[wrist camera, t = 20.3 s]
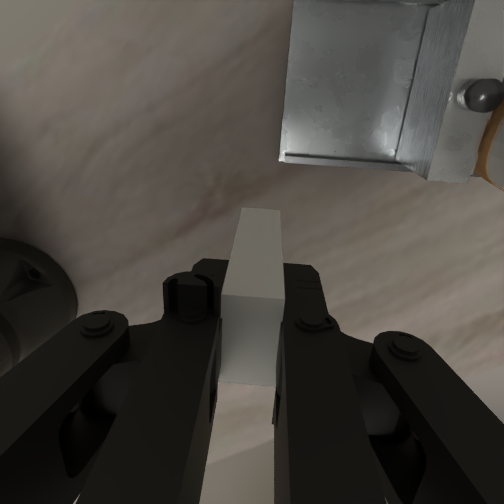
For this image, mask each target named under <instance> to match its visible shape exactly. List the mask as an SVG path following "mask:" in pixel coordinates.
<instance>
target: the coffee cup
mask: <svg viewBox="0 0 504 504" xmlns="http://www.w3.org/2000/svg"><path fill="white" fill-rule="evenodd" d="M474 173H475V174H477V175H479V176H480V177H482V178H483V179H485V180H486V181H488V182H489V183H491V184H493V185H494V186H496V187H497V188H499V189H501V190H502V191H504V99H503V101H502V102H501V104H500V105H499V106H498V107H497V108H496V109H494V110H493V112H492V115H491V118H490V120H489V121H488V122H487V124H486V127H485V129H484V133H483V136H482V139H481V142H480V145H479V148H478V159H477V162H476V165H475V169H474Z"/></svg>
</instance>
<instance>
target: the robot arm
mask: <svg viewBox="0 0 504 504" xmlns="http://www.w3.org/2000/svg"><path fill="white" fill-rule="evenodd" d="M163 299H164V314H163V316H162V319H161V320H159V321H156V322H152V323H147V324H140V325H133V326H129V325H128V319H127V318H126V317H125V316H124V315H123V314H121V313H118V312H116V311H108V310H103V311H94V312H90V313H87V314H84V315H81V316H80V317H78V318H76V319H75V317H76V312H77V300H76V295H75V292H74V289H73V287H72V285H71V283H70V281H69V279H68V277H67V276H66V274H65V273H64V272H63V271H62V269H61V268H60V267H59V266H58V265H57V264H56V263H55V262H54V261H53V260H52V259H50V258H49V257H48V256H47V255H45V254H44V253H42V252H41V251H39V250H37V249H35V248H33V247H31V246H29V245H27V244H24V243H22V242H18V241H14V240H10V239H0V504H73V503H74V501H75V500H76V498H77V497H78V496H79V494H80V496H79V498H78V500H77V502H76V504H199V501H200V496H201V490H202V484H203V477H204V472H205V467H206V461H207V455H208V449H209V443H210V437H211V432H212V426H213V420H214V414H215V408H216V402H217V386H218V378H219V382H224V383H237V384H249V385H261V386H274V387H275V385H276V391H275V400H274V409H273V418H272V424H274V504H386V501H385V498H386V500H387V502H388V503H389V504H504V424H503V423H502V422H501V421H500V420H499V419H498V418H497V416H496V415H495V414H494V413H493V412H492V411H491V410H490V409H489V408H488V407H487V406H486V405H485V404H484V403H483V402H482V400H480V399H479V397H478V396H477V395H476V394H475V393H474V392H473V391H472V390H471V389H470V388H469V387H468V386H467V385H466V384H465V382H464V381H463V380H462V379H461V378H460V377H459V376H458V375H457V374H456V373H455V372H454V371H453V370H452V369H451V368H450V366H449V365H448V364H447V363H446V362H445V361H444V360H443V359H442V358H441V357H440V356H439V355H438V354H437V353H436V352H435V350H434V349H433V348H432V347H431V346H429V345H428V344H427V343H426V342H424V341H423V340H421V339H419V338H417V337H415V336H413V335H411V334H408V333H404V332H400V331H387V332H382V333H380V334H378V335H377V336H376V337H375V339H374V343H369V342H366V341H362V340H359V339H356V338H353V337H350V336H348V335H346V334H344V333H342V332H341V331H340V328H339V325H338V323H337V321H336V320H335V319H334V318H333V317H332V316H330V315H329V314H328V310H327V306H326V302H325V297H324V293H323V291H322V285H321V281H320V277H319V273H318V272H317V271H316V270H315V269H314V268H313V267H312V266H311V265H303V264H289V263H283V254H282V236H281V219H280V210H275V209H261V208H247V207H242V210H241V214H240V218H239V223H238V227H237V231H236V235H235V239H234V243H233V247H232V252H231V256H230V260H220V259H206V258H203V259H202V260H200V261H199V262H197V263H196V264H195V265H194V266H193V268H192V271H191V272H182V273H177V274H174V275H172V276H170V277H168V278H167V279H166V280H165V281H164V282H163ZM384 496H385V497H384Z"/></svg>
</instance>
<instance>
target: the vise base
mask: <svg viewBox="0 0 504 504" xmlns="http://www.w3.org/2000/svg"><path fill="white" fill-rule="evenodd" d="M447 1H449V0H293V9H292V20H291V31H290V42H289V53H288V64H287V75H286V86H285V97H284V108H283V119H282V130H281V141H280V152H279V161H284V163H298V164H311V165H325V166H339V167H352V168H366V169H379V170H393V171H406V172H413V171H412V170H410V169H409V168H407V167H406V166H404V165H403V164H401V163H400V162H398V161H397V160H395V159H396V155H397V150H398V146H399V142H400V137H401V133H402V128H403V124H404V119H405V115H406V111H407V106H408V102H409V97H410V93H411V88H412V84H413V79H414V75H415V71H416V66H417V62H418V57H419V53H420V48H421V44H422V39H423V35H424V31H425V26H426V22H427V17H428V13H429V9H431V8H434V7H436V6H438V5H440V4H442V3H444V2H447ZM502 83H503V85H504V78H503V81H502ZM470 176H474V177H480V176H479V175H477V174H475V173H474V172H473V175H470Z"/></svg>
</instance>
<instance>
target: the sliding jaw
mask: <svg viewBox="0 0 504 504" xmlns="http://www.w3.org/2000/svg"><path fill="white" fill-rule="evenodd" d="M503 78H504V0H449V1H447V2H444V3H442V4H440V5H438V6H436V7H434V8H431V9H429V13H428V17H427V22H426V26H425V31H424V35H423V39H422V44H421V48H420V53H419V57H418V62H417V66H416V71H415V75H414V79H413V84H412V88H411V93H410V97H409V102H408V106H407V111H406V115H405V119H404V124H403V128H402V133H401V137H400V142H399V146H398V150H397V155H396V159H395V160H397V161H398V162H400V163H401V164H403V165H404V166H406V167H407V168H409V169H410V170H412V171H413V172H415V173H417V174H418V175H420V176H421V177H423V178H424V179H426V180H429V181H442V182H455V183H468V180H469V177H470V175H473V172H474V169H475V165H476V162H477V159H478V148H479V145H480V142H481V139H482V136H483V133H484V129H485V127H486V124H487V122H488V121H489V120H490V118H491V115H492V112H493V110H494V109H496V108H497V107H498V106H499V105H500V104H501V102H502V101H503V99H504V85H503V83H502V81H503Z"/></svg>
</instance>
